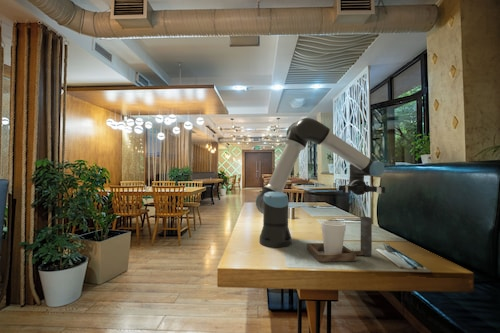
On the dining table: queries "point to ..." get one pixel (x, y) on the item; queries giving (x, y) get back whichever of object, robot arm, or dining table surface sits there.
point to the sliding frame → (346, 253)
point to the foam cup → (333, 236)
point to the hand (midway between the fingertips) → (363, 190)
